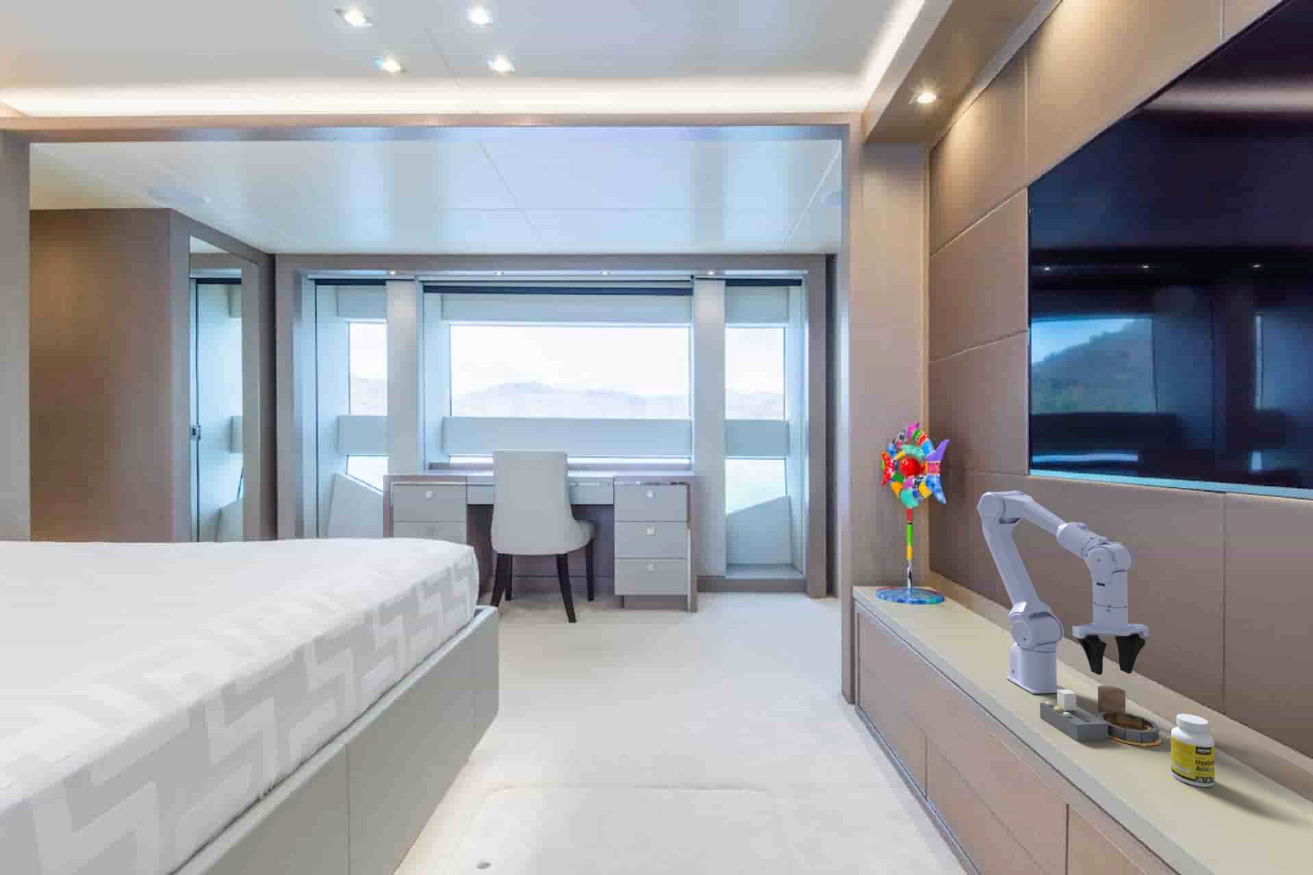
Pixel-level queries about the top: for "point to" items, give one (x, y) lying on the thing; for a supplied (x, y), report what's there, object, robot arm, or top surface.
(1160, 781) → the top surface
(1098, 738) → the switch box
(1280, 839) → the top surface
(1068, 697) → the handle
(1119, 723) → the ring
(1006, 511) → the robot arm
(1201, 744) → the supplement bottle
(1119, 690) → the brown tapered cylinder
